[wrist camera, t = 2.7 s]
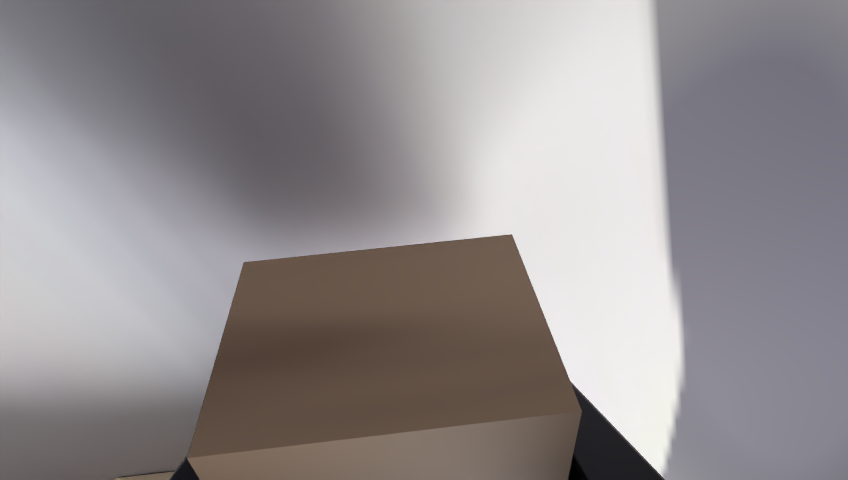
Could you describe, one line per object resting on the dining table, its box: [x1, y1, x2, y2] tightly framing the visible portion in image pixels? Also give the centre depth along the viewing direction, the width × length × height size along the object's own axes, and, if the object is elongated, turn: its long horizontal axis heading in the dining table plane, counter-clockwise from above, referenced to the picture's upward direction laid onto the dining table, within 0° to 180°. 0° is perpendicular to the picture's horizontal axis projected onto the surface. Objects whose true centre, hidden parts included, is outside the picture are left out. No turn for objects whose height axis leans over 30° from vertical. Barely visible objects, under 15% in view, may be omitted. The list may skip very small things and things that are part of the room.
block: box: [187, 235, 582, 480], centre depth 9 cm, size 4×4×4 cm
